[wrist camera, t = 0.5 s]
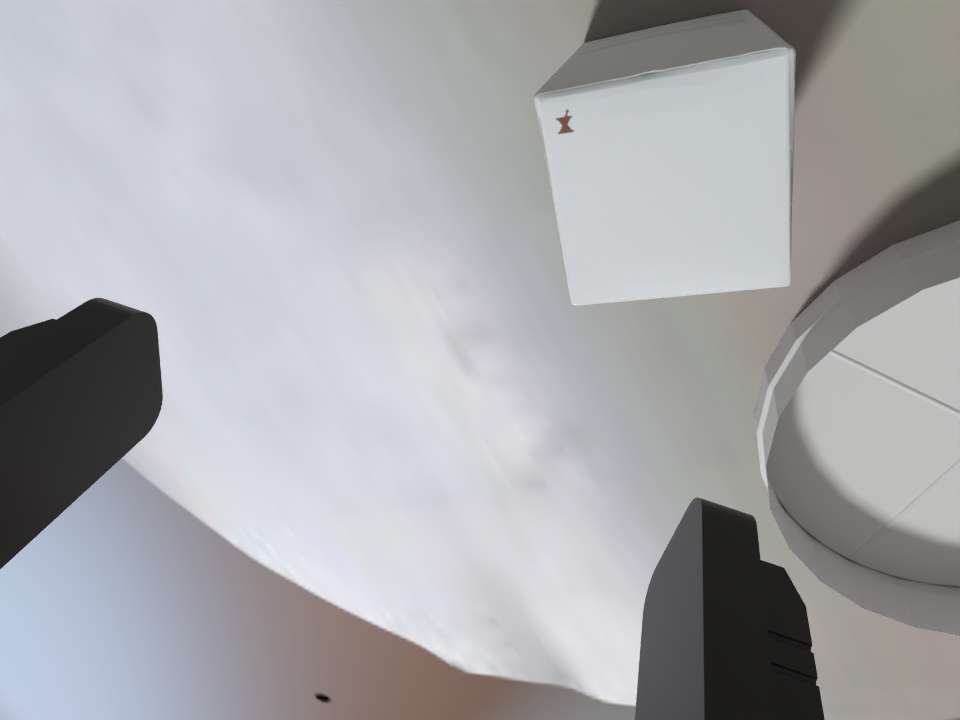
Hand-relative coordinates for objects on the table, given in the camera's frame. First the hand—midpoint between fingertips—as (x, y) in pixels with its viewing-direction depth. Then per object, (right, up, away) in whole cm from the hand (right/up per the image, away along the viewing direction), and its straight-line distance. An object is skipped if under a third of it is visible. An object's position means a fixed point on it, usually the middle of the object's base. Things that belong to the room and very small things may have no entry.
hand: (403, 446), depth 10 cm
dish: (+27, -1, +26) cm, 37 cm away
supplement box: (+10, +13, +22) cm, 27 cm away
